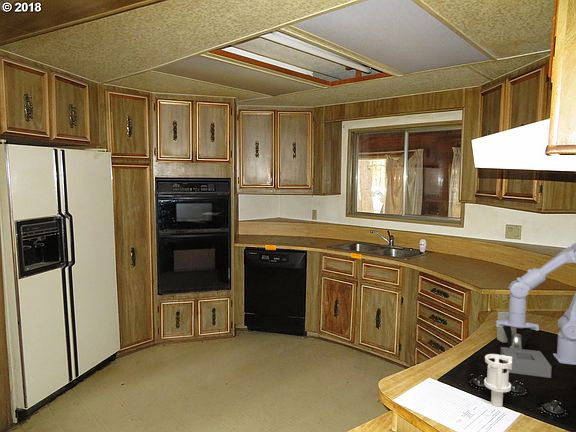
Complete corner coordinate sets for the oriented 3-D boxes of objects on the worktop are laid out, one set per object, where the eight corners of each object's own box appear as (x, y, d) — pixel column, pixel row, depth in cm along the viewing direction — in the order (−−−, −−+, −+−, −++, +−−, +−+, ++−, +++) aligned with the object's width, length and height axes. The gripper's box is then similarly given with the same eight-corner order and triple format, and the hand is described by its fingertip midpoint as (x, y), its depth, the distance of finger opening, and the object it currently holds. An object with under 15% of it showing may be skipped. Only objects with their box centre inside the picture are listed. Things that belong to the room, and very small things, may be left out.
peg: (520, 351, 156) (520, 333, 155) (522, 355, 152) (523, 337, 151) (508, 349, 157) (509, 332, 156) (511, 354, 153) (511, 336, 152)
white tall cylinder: (512, 412, 113) (514, 362, 112) (484, 407, 116) (486, 358, 115) (508, 400, 120) (510, 352, 119) (482, 395, 122) (484, 348, 121)
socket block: (539, 361, 146) (540, 351, 146) (550, 377, 134) (551, 366, 133) (500, 357, 150) (500, 346, 150) (507, 372, 138) (508, 361, 137)
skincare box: (509, 338, 168) (510, 310, 168) (516, 342, 164) (517, 314, 163) (496, 339, 168) (497, 311, 167) (502, 343, 163) (503, 314, 163)
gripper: (535, 310, 155) (534, 344, 156) (494, 307, 159) (493, 340, 160) (541, 316, 148) (539, 351, 149) (498, 312, 152) (496, 346, 153)
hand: (515, 346), depth 154 cm, fingers closed on peg, 4 cm apart
